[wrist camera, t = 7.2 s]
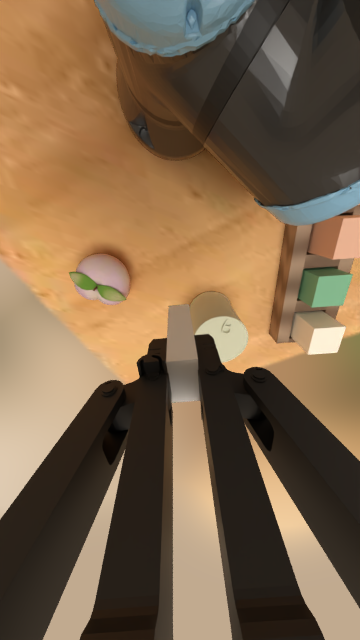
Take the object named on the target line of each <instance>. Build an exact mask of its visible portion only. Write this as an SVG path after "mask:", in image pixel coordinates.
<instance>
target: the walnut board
mask: <svg viewBox="0 0 360 640" xmlns="http://www.w3.org/2000/svg"><path fill="white" fill-rule="evenodd" d="M339 215H360V205H357V206H355V207H353V208H351V209H349V210H348V211H345V212H343V213H341V214H339ZM339 215H337V216H339ZM311 229H312V224H309V225H301V226H294V225H289V224H286V226H285V233H284V239H283V246H282V252H281V259H280V266H279V272H278V279H277V285H276V292H275V298H274V305H273V311H272V318H271V324H270V331H269V334H270V335H271V337H272V338H273V339H274V340H275V342H276V343H289V342H295V341H294V340H293V339H292V337H291V336H290V331H291V327H292V322H293V317H294V312H302V311H317V310H322V311H323V312H325V313H326V314H328V315H329V316H331V317H332V318H334V319H336V315H337V312H338V309H339V306H326V307H310V306H309V305H307V304H306V303H304V302H303V301H301V300H300V299H299V298H297V297H298V292H299V288H300V283H301V278H302V273H303V269H304V268H318V267H333V268H336V269H339V270H341V271H344V272H347V273H350V270H351V267H352V264H353V260H354V258H349V259H334V260H332V259H329V258H326V257H322V256H319V255H316V254H312V253H309V252H307V249H308V244H309V239H310V234H311Z"/></svg>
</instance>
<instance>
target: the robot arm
mask: <svg viewBox="0 0 360 640" xmlns="http://www.w3.org/2000/svg"><path fill="white" fill-rule="evenodd" d="M94 2H95V5H96V7H97V8H99V11H100V15H101V17H102V18H103V21H104V23H105V26H106V29H107V31H108V34H109V37H110V40H111V42H112V45H113V48H114V50H115V53H116V56H117V69H116V77H117V88H118V95H119V100H120V104H121V107H122V110H123V113H124V116H125V118H126V120H127V122H128V124H129V126H130V128H131V130H132V132H133V133H134V135H135V137H136V138H137V139H138V141H139V142H140V143H141V144H142V145H143V146H144V147H145V148H146V149H147V150H148V151H150V152H151V153H153V154H154V155H156V156H158V157H160V158H163V159H167V160H184V159H188V158H191V157H193V156H195V155H197V154H199V153H200V152H201V151H203V150H204V149H205V148H206V149H207V150H208V151H209V152H210V153H211V154H212V155H213V156H214V157H215V158H216V159H217V160H218V161H219V162H220V163H221V164H222V165H223V166H224V167H225V168H226V169H227V170H228V171H229V172H230V173H231V174H232V175H233V176H234V177H235V178H236V179H237V180H238V181H239V182H240V183H241V184H242V185H243V186H244V187H245V188H246V189H247V190H248V191H249V192H250V193H251V194H252V195H253V196H254V200H255V201H256V203H257V204H258V205H259V206H260V207H262V208H265V209H267V210H268V211H269V212H270V213H271V214H272V215H273V216H275V217H276V218H277V219H278V220H279V221H281V222H283V223H286V224H289V225H294V226H301V225H309V224H314V223H318V222H321V221H324V220H327V219H330V218H332V217H334V216H337V215H339V214H341V213H343V212H345V211H348V210H349V209H351V208H353V207H355V206H357V205H359V204H360V0H94ZM137 367H138V371H139V375H140V378H139V379H138V380H136V381H134V382H132V383H129V384H126V385H123V383H121V382H120V381H117V380H110V381H107V382H105V383H103V384H101V385H100V386H99V387H98V388H97V389H96V390H95V391H94V393H93V394H92V395H91V397H90V398H89V400H88V401H87V402H86V404H85V405H84V406H83V408H82V409H81V410H80V412H79V413H78V414H77V416H76V417H75V419H74V420H73V421H72V423H71V424H70V425H69V427H68V428H67V430H66V431H65V432H64V434H63V435H62V436H61V438H60V439H59V440H58V442H57V443H56V444H55V446H54V447H53V449H52V450H51V451H50V453H49V454H48V455H47V457H46V458H45V459H44V461H43V462H42V464H41V465H40V466H39V468H38V469H37V470H36V472H35V473H34V475H33V476H32V477H31V479H30V480H29V481H28V483H27V484H26V485H25V487H24V488H23V490H22V491H21V492H20V494H19V495H18V496H17V498H16V499H15V500H14V502H13V503H12V504H11V506H10V507H9V509H8V510H7V511H6V513H5V514H4V515H3V517H2V518H1V520H0V640H43V637H44V635H45V633H46V631H47V628H48V626H49V624H50V621H51V619H52V617H53V614H54V612H55V610H56V607H57V605H58V603H59V601H60V598H61V596H62V594H63V591H64V589H65V587H66V584H67V582H68V580H69V577H70V575H71V573H72V570H73V568H74V566H75V563H76V561H77V559H78V557H79V554H80V552H81V550H82V547H83V545H84V543H85V541H86V538H87V536H88V534H89V531H90V529H91V527H92V524H93V522H94V520H95V517H96V515H97V513H98V511H99V508H100V506H101V504H102V501H103V499H104V497H105V494H106V492H107V490H108V487H109V485H110V483H111V481H112V478H113V476H114V473H115V471H116V469H117V466H118V464H119V462H120V460H121V457H122V455H123V453H124V450H125V454H124V459H123V464H122V469H121V474H120V479H119V484H118V489H117V494H116V499H115V504H114V509H113V514H112V519H111V524H110V529H109V534H108V539H107V545H106V550H105V554H104V559H103V565H102V570H101V575H100V580H99V585H98V590H97V595H96V600H95V604H94V608H93V612H92V615H91V618H90V620H89V622H88V624H87V626H86V627H85V629H84V631H83V633H82V634H81V637H80V640H173V411H172V403H176V402H188V401H201V416H202V420H203V427H204V434H205V441H206V449H207V456H208V463H209V471H210V478H211V485H212V492H213V500H214V507H215V515H216V522H217V528H218V537H219V543H220V551H221V558H222V566H223V573H224V580H225V587H226V595H227V601H228V608H229V617H230V624H231V632H232V640H325V639H324V637H323V634H322V632H321V630H320V628H319V626H318V623H317V621H316V619H315V617H314V616H313V615H312V613H311V611H310V610H309V608H308V607H307V605H306V604H305V601H304V599H303V597H302V595H301V592H300V589H299V587H298V584H297V581H296V578H295V575H294V572H293V569H292V566H291V563H290V560H289V557H288V554H287V551H286V548H285V545H284V541H283V539H282V536H281V532H280V529H279V526H278V524H277V520H276V518H275V514H274V512H273V508H272V505H271V503H270V499H269V496H268V493H267V491H266V487H265V484H264V481H263V478H262V475H261V472H260V469H259V466H258V463H257V460H256V457H255V454H254V451H253V448H252V445H251V442H250V439H249V436H248V433H247V430H246V427H245V425H246V426H247V428H248V429H249V431H250V433H251V434H252V436H253V437H254V439H255V441H256V442H257V444H258V445H259V447H260V449H261V450H262V452H263V454H264V455H265V457H266V458H267V460H268V462H269V463H270V465H271V466H272V468H273V470H274V471H275V473H276V474H277V476H278V478H279V479H280V481H281V483H282V484H283V486H284V487H285V489H286V490H287V492H288V494H289V495H290V497H291V499H292V500H293V501H294V503H295V505H296V506H297V508H298V510H299V511H300V513H301V515H302V516H303V518H304V520H305V521H306V523H307V524H308V526H309V528H310V529H311V531H312V532H313V534H314V535H315V537H316V539H317V540H318V542H319V544H320V545H321V547H322V548H323V550H324V552H325V553H326V554H327V556H328V558H329V560H330V561H331V563H332V564H333V566H334V568H335V569H336V571H337V572H338V574H339V576H340V577H341V579H342V580H343V582H344V584H345V585H346V587H347V589H348V590H349V592H350V593H351V595H352V597H353V598H354V600H355V601H356V603H357V605H358V606H359V608H360V461H359V460H358V459H357V458H356V457H355V456H354V455H353V454H352V453H351V452H350V451H349V450H348V449H347V448H346V447H345V446H344V445H343V444H342V443H341V442H340V441H339V440H338V439H337V438H336V437H335V436H334V435H333V434H332V433H331V432H330V431H329V430H328V429H327V428H326V427H325V426H324V425H323V424H322V423H321V422H320V421H319V420H318V419H317V418H316V417H315V416H314V415H313V414H312V413H311V412H310V411H309V410H308V409H307V408H306V407H305V406H304V405H303V404H302V403H301V402H300V401H299V400H298V399H297V398H296V397H295V396H294V395H293V394H292V393H291V392H290V391H289V390H288V389H287V388H286V387H285V386H284V385H283V384H282V383H281V382H280V381H279V380H278V379H277V378H276V377H275V376H274V375H273V374H272V373H271V372H270V371H268V370H266V369H264V368H260V367H252V368H249V369H247V370H246V371H245V372H244V374H241V373H235V372H231V371H229V370H227V369H226V368H225V366H224V365H222V363H221V360H220V357H219V354H218V350H217V348H216V344H215V341H214V338H213V337H212V336H211V335H210V334H202V335H194V332H193V326H192V320H191V314H190V308H189V304H184V305H173V306H169V311H168V332H167V338H163V339H153V340H152V342H151V343H150V344H149V348H148V354H147V355H145V356H142V357H141V358H140V359H139V360H138V362H137ZM244 423H245V424H244ZM125 448H126V449H125Z"/></svg>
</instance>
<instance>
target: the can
mask: <svg viewBox="0 0 360 640" xmlns="http://www.w3.org/2000/svg"><path fill="white" fill-rule="evenodd" d="M189 308H190V314H191V320H192V326H193V332H194V335H202V334H210V335H211V336H212V337H213V338H214V341H215V344H216V348H217V350H218V354H219V357H220V360H221V363H222V362H227V361H230V360H232V359H234V358H236V357H237V356H239V355H240V354H241V353H242V352H243V350H244V349H245V347H246V345H247V342H248V332H247V329H246V327H245V325H244V324H243V323H242V322H241V320H240V319H239V317H238V316H237V314H236V313H235V311H234V309H233V308H232V306H231V303H230V301H229V300H228V298H227V297H226V296H224V295H223V294H221V293H219V292H214V291H210V292H205V293H202V294H200V295H198V296H197V297H196V298H195V299H194V300H193V301H192V302H191V304H190V307H189Z"/></svg>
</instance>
